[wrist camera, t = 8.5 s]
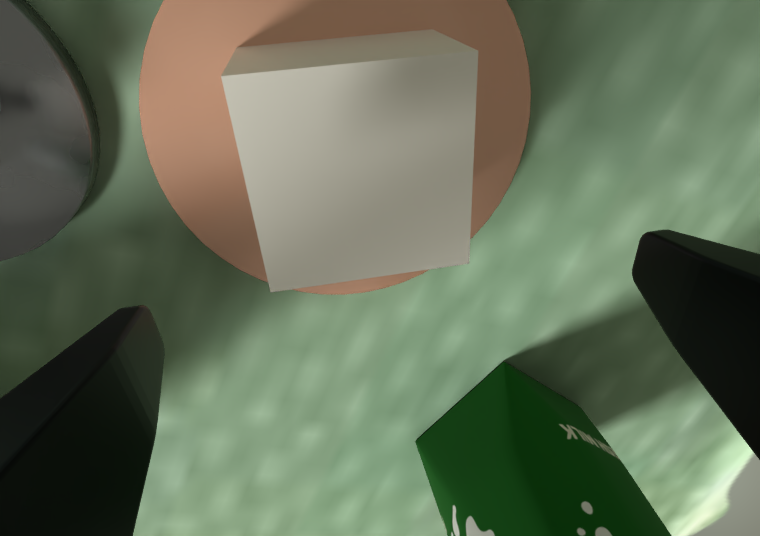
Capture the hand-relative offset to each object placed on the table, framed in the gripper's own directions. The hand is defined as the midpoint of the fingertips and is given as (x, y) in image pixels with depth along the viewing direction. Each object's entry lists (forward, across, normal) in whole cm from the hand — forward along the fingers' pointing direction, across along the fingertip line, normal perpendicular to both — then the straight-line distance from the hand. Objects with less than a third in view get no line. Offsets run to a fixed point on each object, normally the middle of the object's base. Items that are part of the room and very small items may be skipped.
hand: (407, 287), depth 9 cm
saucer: (+10, 0, 0) cm, 10 cm away
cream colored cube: (+9, 0, 0) cm, 9 cm away
